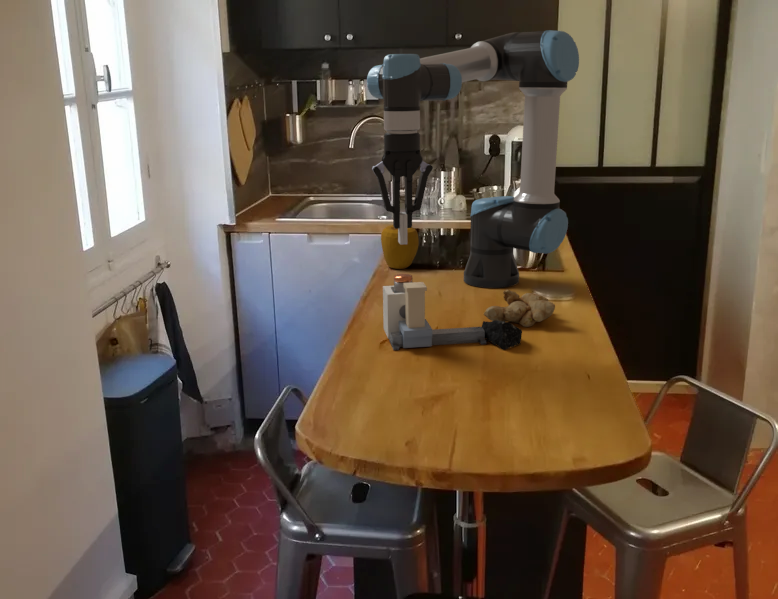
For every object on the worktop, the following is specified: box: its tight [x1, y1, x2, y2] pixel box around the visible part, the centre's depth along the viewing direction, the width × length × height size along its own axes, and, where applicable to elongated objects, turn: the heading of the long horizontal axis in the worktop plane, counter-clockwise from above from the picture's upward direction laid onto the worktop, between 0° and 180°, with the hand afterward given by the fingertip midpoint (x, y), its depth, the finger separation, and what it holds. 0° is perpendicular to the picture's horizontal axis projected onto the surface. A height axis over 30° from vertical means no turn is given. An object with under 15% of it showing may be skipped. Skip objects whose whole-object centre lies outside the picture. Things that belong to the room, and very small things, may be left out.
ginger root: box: [483, 289, 556, 328], centre depth 182 cm, size 16×16×8 cm
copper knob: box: [393, 273, 413, 293], centre depth 173 cm, size 4×4×6 cm
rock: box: [481, 320, 523, 351], centre depth 169 cm, size 7×10×6 cm
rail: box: [388, 326, 487, 351], centre depth 169 cm, size 20×6×2 cm, turn 99°
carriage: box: [399, 281, 433, 349], centre depth 166 cm, size 6×7×13 cm
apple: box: [380, 224, 420, 270], centre depth 232 cm, size 11×11×13 cm
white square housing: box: [382, 285, 406, 339], centre depth 174 cm, size 8×7×10 cm
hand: (402, 243), depth 170 cm, fingers closed
